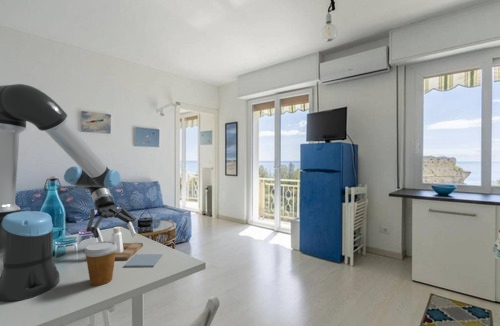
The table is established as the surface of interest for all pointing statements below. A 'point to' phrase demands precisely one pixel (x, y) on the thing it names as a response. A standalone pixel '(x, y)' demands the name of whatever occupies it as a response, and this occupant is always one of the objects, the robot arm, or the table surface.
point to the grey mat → (143, 260)
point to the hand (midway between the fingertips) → (118, 239)
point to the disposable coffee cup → (100, 261)
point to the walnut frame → (128, 251)
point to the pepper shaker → (117, 239)
